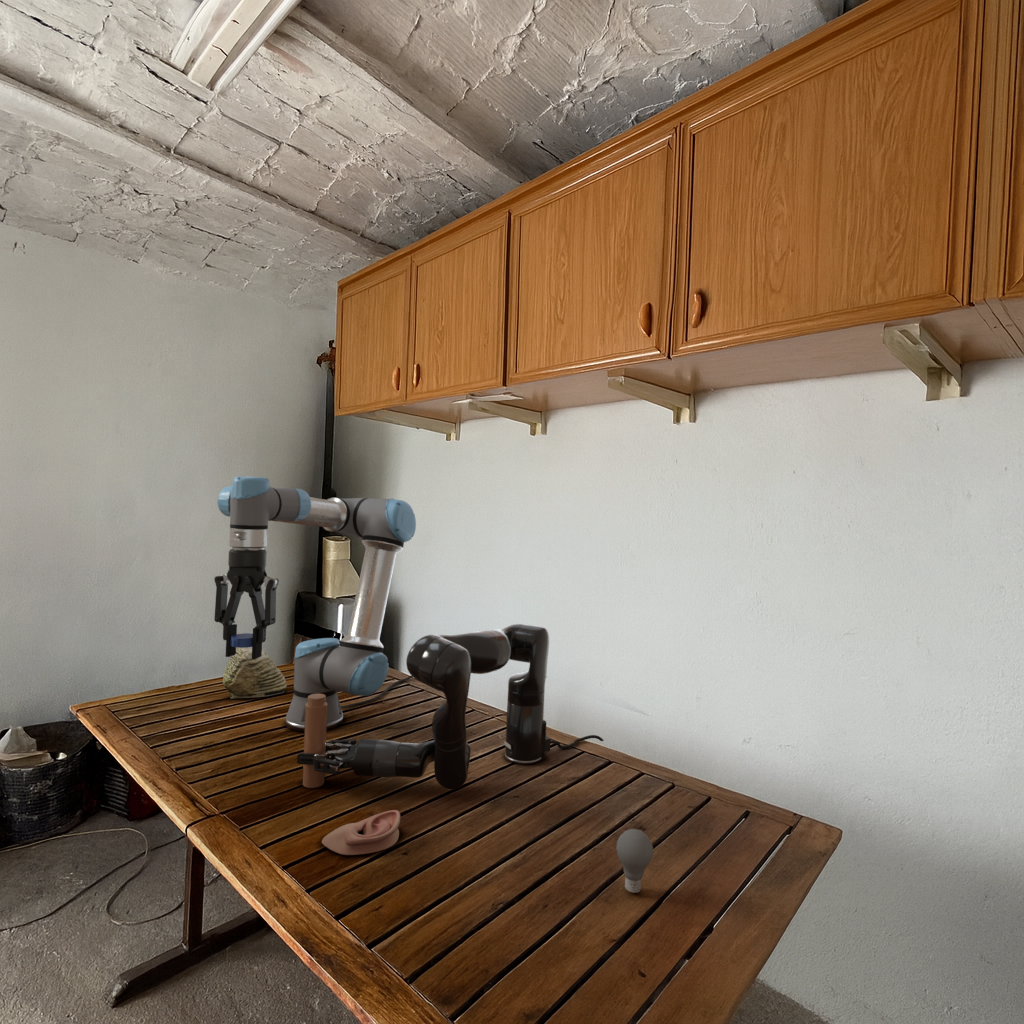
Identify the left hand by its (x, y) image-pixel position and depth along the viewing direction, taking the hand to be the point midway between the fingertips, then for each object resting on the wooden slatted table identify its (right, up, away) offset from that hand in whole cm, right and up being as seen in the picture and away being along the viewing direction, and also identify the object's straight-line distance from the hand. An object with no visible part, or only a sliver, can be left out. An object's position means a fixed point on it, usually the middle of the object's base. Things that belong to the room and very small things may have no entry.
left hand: (243, 656), depth 136 cm
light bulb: (+78, -32, -30) cm, 90 cm away
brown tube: (+14, -29, +4) cm, 32 cm away
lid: (0, +4, 0) cm, 4 cm away
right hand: (+11, -22, +4) cm, 25 cm away
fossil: (-23, -26, +62) cm, 71 cm away
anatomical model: (+30, -30, -18) cm, 46 cm away
